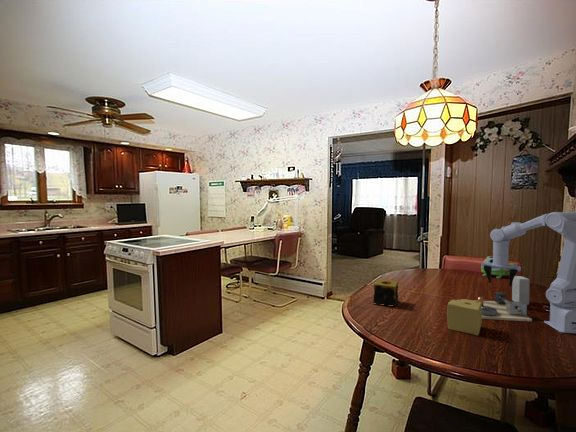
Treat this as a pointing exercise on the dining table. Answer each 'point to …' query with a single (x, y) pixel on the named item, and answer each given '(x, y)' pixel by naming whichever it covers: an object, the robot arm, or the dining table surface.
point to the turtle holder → (496, 270)
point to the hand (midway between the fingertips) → (500, 284)
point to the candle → (385, 292)
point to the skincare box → (520, 289)
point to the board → (503, 313)
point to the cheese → (464, 316)
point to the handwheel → (487, 309)
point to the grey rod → (500, 298)
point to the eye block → (511, 308)
